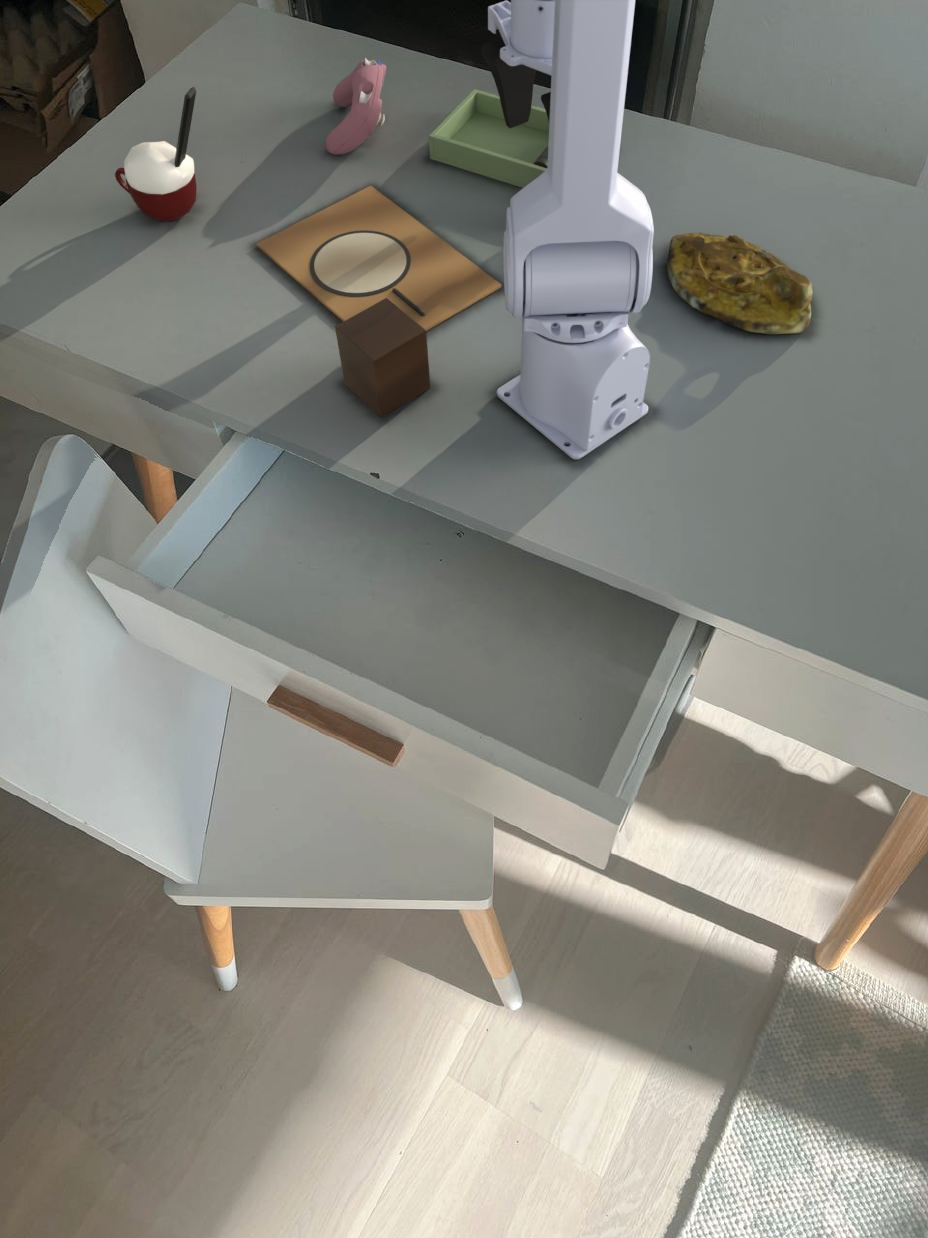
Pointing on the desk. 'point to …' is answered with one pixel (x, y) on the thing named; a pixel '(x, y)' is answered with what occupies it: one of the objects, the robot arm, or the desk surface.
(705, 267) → the stuffed pastry
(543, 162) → the marker
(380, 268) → the drawing pad
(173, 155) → the cocoa
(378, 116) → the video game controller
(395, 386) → the tall brown wooden block
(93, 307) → the desk surface
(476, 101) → the tray
